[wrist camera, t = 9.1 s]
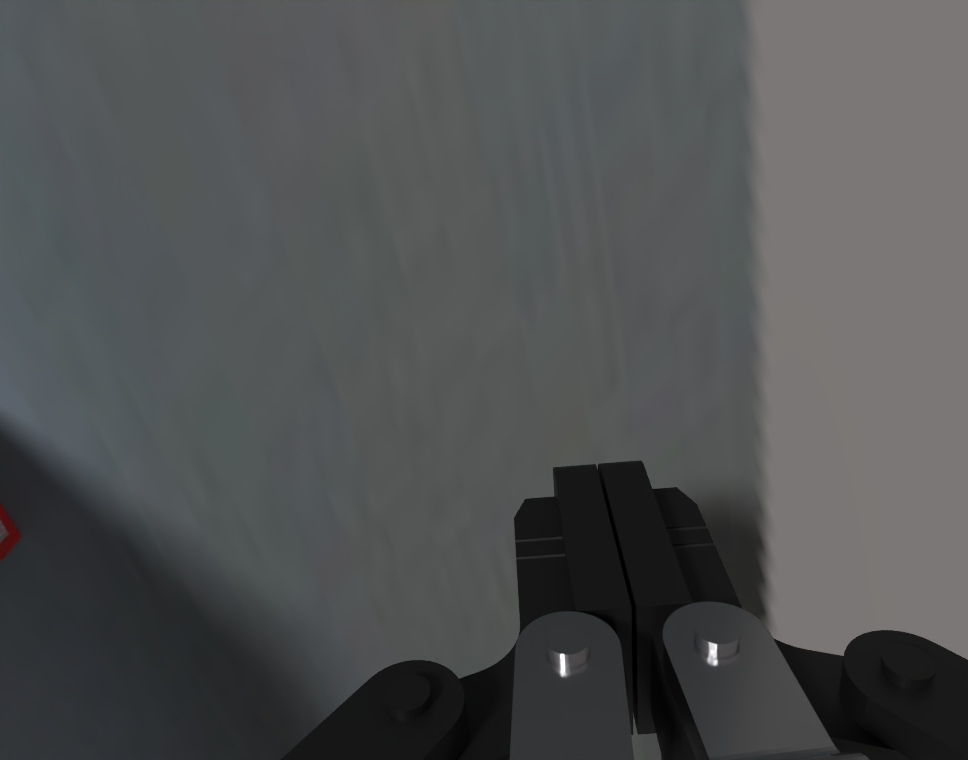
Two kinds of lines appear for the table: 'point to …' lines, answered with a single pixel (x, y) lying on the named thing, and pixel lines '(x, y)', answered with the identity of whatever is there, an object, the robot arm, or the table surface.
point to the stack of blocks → (7, 534)
